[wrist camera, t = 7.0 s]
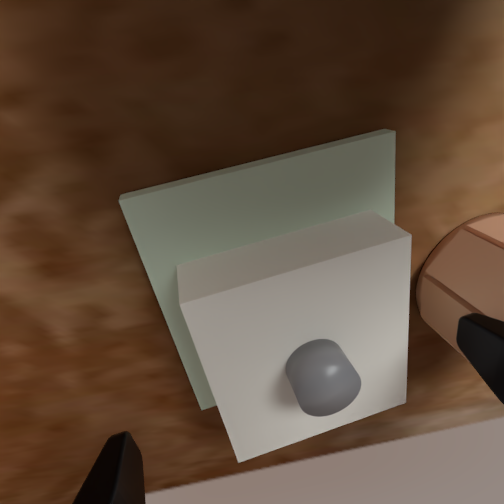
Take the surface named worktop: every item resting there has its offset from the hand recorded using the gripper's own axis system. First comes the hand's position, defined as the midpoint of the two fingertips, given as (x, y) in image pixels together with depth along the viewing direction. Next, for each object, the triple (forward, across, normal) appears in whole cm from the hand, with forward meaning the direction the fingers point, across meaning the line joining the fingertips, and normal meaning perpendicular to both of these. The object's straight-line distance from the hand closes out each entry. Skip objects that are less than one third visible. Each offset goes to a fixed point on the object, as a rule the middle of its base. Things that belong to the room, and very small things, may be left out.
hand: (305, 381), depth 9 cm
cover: (+2, 0, 0) cm, 2 cm away
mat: (+3, 0, -1) cm, 3 cm away
